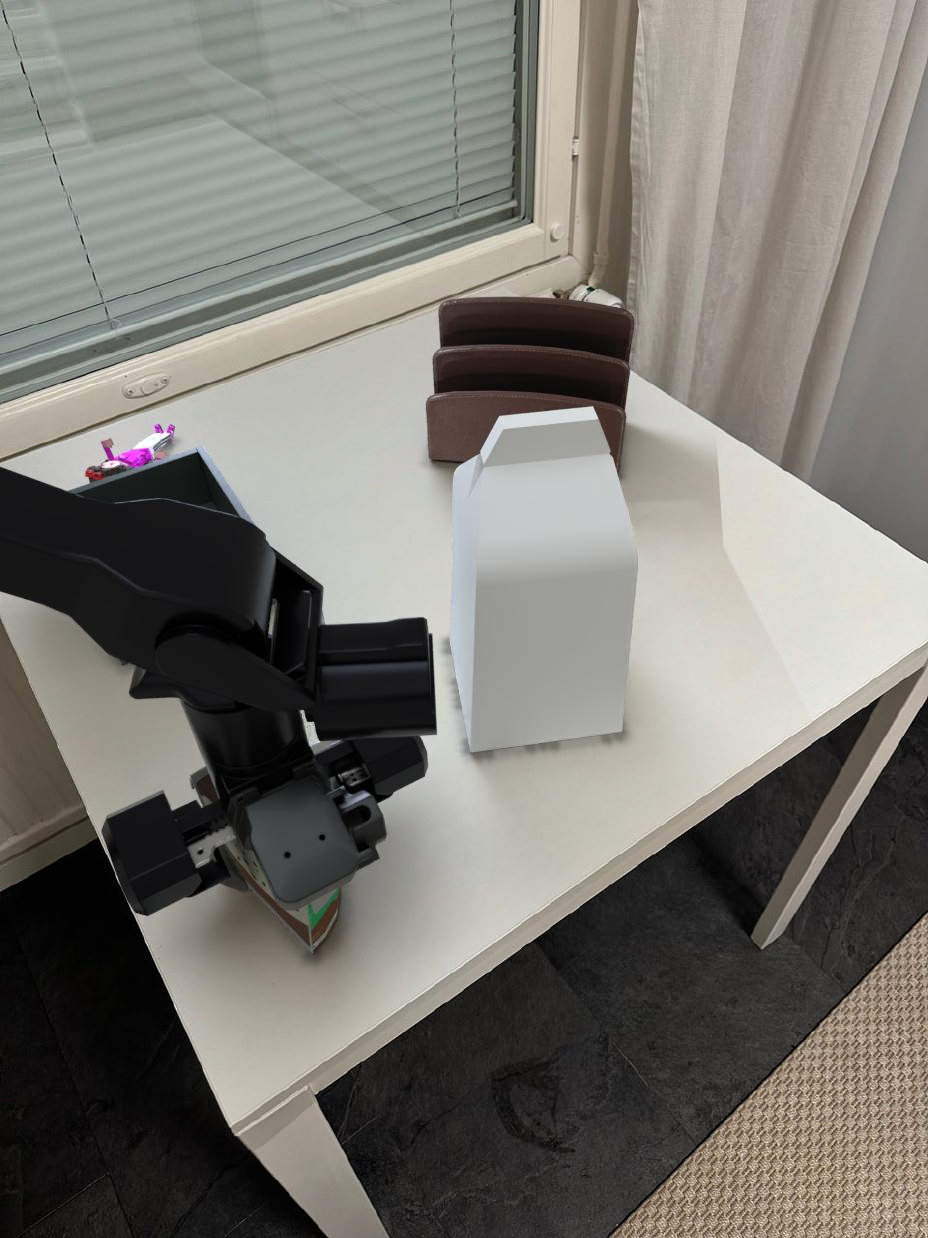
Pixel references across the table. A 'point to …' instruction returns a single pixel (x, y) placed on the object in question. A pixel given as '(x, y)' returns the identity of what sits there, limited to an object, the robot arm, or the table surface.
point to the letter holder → (525, 367)
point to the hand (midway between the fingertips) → (292, 860)
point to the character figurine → (131, 455)
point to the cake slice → (303, 923)
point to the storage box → (171, 485)
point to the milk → (541, 583)
